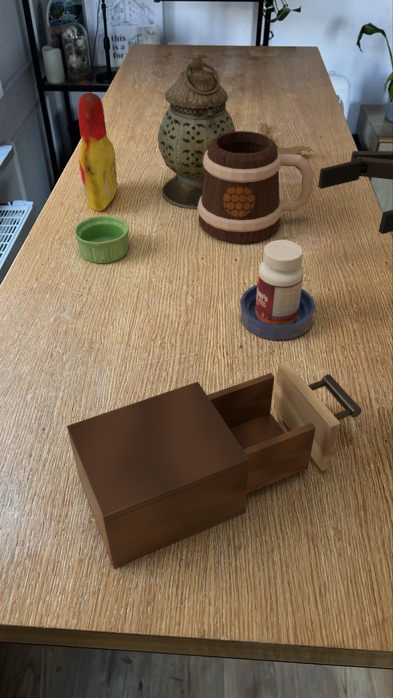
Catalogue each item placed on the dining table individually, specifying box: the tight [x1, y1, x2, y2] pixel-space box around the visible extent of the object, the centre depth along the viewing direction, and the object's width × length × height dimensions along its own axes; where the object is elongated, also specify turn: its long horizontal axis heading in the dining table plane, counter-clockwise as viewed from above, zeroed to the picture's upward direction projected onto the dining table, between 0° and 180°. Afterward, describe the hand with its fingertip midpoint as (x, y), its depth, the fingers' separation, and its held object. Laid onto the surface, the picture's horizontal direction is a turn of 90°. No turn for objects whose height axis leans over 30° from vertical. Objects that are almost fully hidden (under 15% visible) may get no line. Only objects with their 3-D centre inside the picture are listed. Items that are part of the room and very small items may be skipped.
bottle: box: [78, 92, 119, 211], centre depth 106 cm, size 12×6×20 cm, turn 175°
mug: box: [197, 130, 315, 244], centre depth 101 cm, size 20×15×15 cm
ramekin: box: [73, 214, 130, 264], centre depth 98 cm, size 9×9×4 cm
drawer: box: [207, 360, 363, 494], centre depth 65 cm, size 18×10×7 cm, turn 115°
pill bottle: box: [255, 239, 304, 325], centre depth 82 cm, size 6×6×11 cm
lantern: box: [157, 55, 236, 210], centre depth 107 cm, size 14×14×25 cm
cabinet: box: [66, 381, 249, 569], centre depth 60 cm, size 15×12×9 cm
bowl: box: [239, 284, 317, 341], centre depth 85 cm, size 11×11×3 cm
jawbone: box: [260, 122, 314, 156], centre depth 131 cm, size 9×20×2 cm, turn 27°
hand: (349, 199), depth 78 cm, fingers open, 13 cm apart
